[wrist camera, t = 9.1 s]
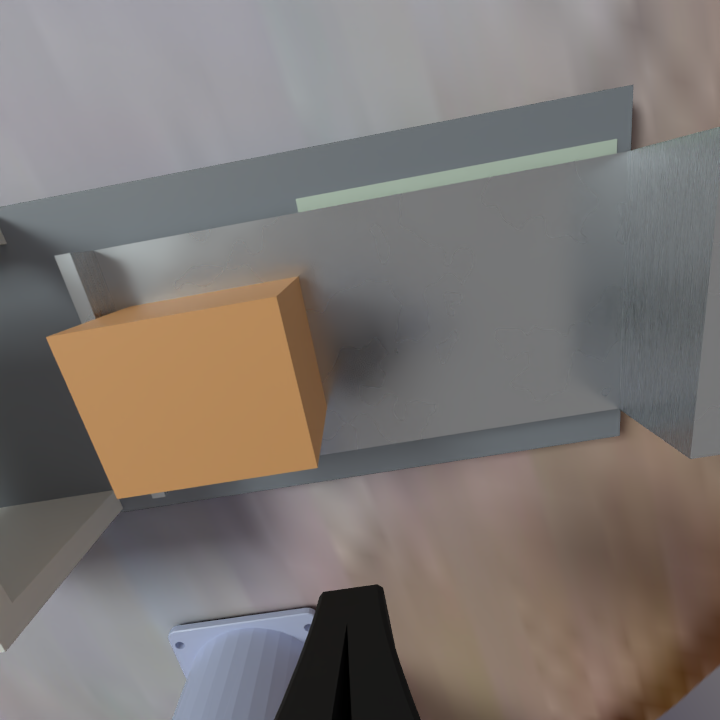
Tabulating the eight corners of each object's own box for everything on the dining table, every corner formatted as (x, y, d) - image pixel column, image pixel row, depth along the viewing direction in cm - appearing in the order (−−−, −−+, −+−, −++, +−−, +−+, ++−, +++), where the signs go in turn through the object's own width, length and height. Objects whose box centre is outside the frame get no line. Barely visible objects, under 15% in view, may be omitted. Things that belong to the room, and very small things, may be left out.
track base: (605, 424, 18) (620, 436, 17) (-176, 545, 20) (-205, 563, 19) (614, 93, 14) (635, 83, 13) (-374, 284, 16) (-426, 288, 15)
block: (327, 407, 15) (317, 468, 12) (175, 432, 16) (117, 499, 12) (298, 276, 14) (276, 296, 10) (129, 306, 14) (45, 337, 10)
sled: (631, 395, 16) (724, 453, 12) (175, 467, 17) (118, 544, 13) (643, 149, 13) (770, 116, 9) (94, 251, 14) (-11, 262, 10)
